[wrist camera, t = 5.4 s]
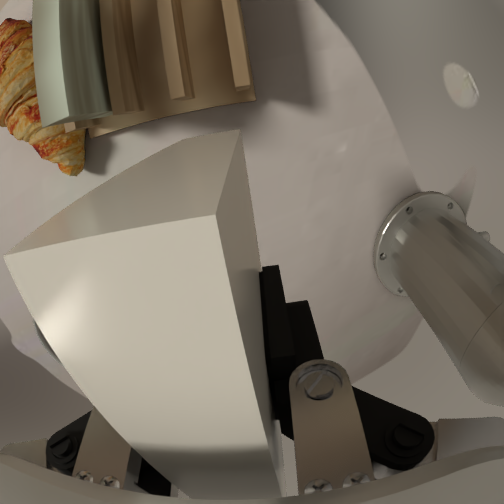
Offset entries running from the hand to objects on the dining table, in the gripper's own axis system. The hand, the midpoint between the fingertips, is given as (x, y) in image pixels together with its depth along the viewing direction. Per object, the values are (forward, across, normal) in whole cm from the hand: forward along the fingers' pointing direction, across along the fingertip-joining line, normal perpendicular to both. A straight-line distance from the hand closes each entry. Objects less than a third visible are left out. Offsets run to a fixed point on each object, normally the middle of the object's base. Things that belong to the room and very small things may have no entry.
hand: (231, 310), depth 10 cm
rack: (+18, +5, -14) cm, 23 cm away
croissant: (+18, +18, -14) cm, 29 cm away
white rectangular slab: (+3, 0, 0) cm, 3 cm away
